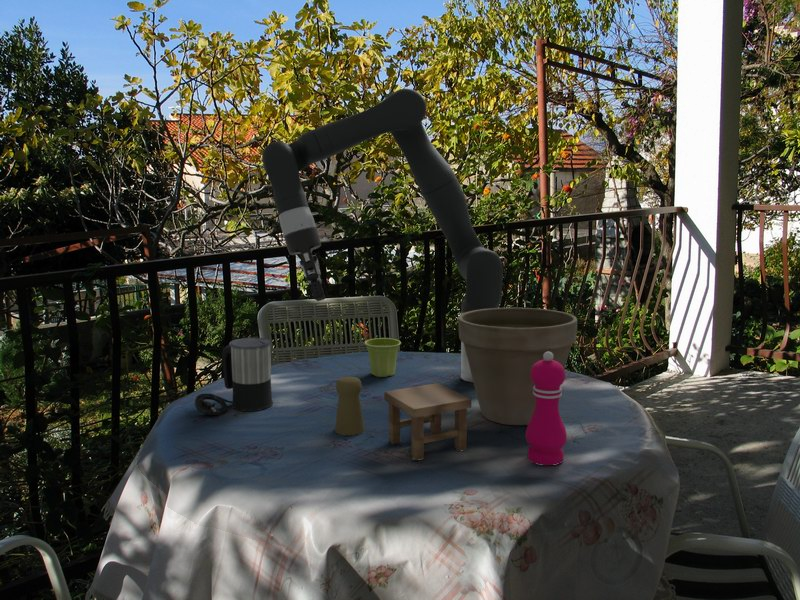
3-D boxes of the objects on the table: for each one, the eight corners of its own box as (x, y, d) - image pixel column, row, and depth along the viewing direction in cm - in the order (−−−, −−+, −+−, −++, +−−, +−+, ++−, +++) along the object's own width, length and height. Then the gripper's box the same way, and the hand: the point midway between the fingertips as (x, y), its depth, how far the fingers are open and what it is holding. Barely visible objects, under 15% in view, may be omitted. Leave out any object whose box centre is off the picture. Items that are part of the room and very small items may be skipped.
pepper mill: (520, 452, 128) (522, 347, 125) (558, 451, 129) (562, 346, 126) (531, 468, 121) (533, 357, 118) (571, 466, 122) (575, 356, 119)
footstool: (438, 430, 140) (438, 382, 138) (471, 450, 130) (471, 399, 128) (384, 441, 135) (384, 391, 133) (414, 462, 124) (414, 409, 122)
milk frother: (281, 401, 160) (279, 339, 157) (241, 423, 145) (238, 354, 143) (230, 395, 165) (227, 334, 163) (186, 415, 151) (182, 349, 148)
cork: (369, 426, 143) (368, 375, 141) (357, 437, 137) (356, 383, 135) (342, 423, 145) (341, 372, 143) (330, 433, 139) (328, 380, 137)
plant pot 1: (402, 369, 186) (402, 338, 185) (399, 379, 177) (399, 346, 175) (368, 369, 187) (367, 337, 186) (362, 378, 178) (362, 345, 176)
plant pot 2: (456, 396, 163) (456, 305, 159) (562, 397, 161) (565, 305, 158) (459, 434, 138) (459, 327, 134) (584, 436, 137) (589, 328, 133)
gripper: (314, 221, 149) (335, 293, 149) (317, 230, 163) (337, 296, 163) (280, 231, 149) (302, 303, 149) (286, 239, 163) (306, 305, 163)
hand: (320, 299), depth 156 cm, fingers open, 8 cm apart
